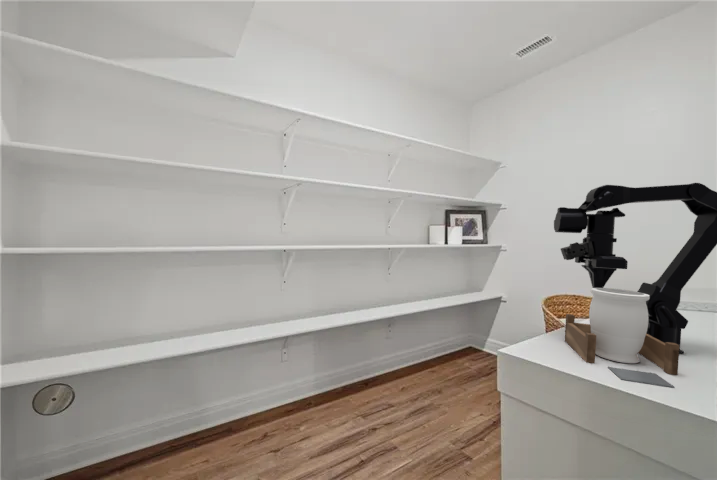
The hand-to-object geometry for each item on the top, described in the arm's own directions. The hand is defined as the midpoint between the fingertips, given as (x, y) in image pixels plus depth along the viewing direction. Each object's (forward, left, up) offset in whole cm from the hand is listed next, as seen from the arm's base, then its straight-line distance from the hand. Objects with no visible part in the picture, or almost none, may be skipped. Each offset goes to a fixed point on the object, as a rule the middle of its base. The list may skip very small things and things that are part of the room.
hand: (596, 292), depth 85 cm
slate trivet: (+1, +24, -12) cm, 27 cm away
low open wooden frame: (0, +13, -12) cm, 18 cm away
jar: (0, +13, -13) cm, 18 cm away
